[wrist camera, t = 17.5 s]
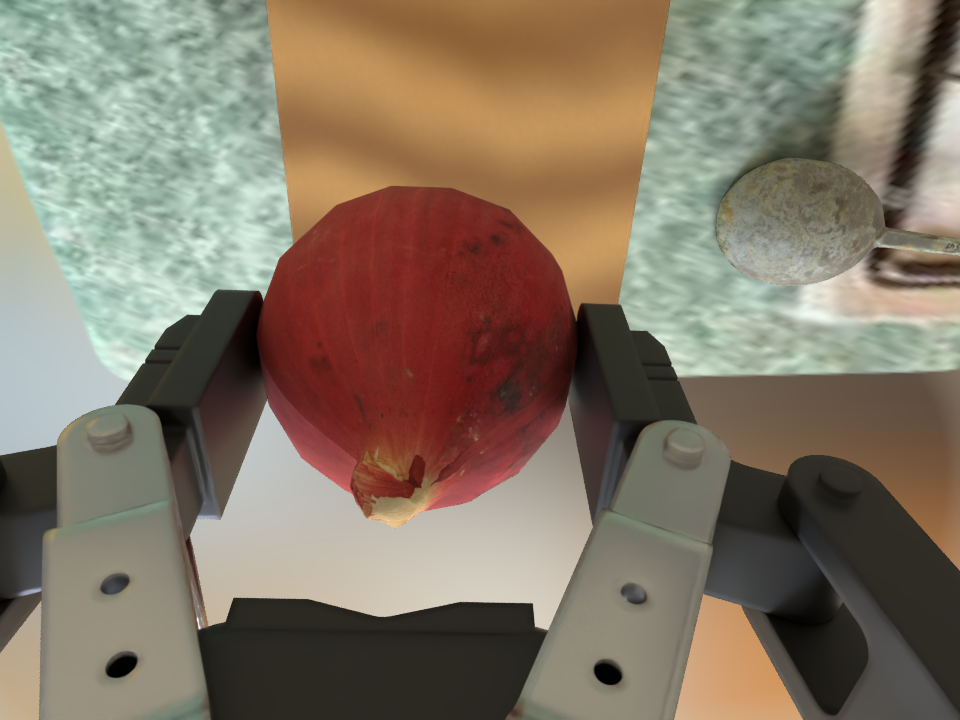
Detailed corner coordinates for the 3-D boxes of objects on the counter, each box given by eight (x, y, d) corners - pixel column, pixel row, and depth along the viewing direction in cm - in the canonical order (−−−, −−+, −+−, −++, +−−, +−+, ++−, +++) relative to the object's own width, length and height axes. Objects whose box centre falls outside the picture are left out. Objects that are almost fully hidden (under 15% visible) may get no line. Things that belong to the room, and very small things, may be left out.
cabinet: (313, -98, 29) (255, -91, 21) (623, -83, 29) (682, -71, 21) (338, 237, 37) (302, 335, 29) (580, 245, 37) (611, 344, 29)
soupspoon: (738, 135, 35) (695, 254, 39) (758, 160, 32) (709, 285, 36) (1156, 203, 36) (1074, 311, 40) (1209, 233, 33) (1115, 346, 37)
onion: (513, 93, 14) (552, 273, 8) (582, 323, 18) (651, 593, 11) (257, 182, 15) (97, 410, 9) (364, 386, 18) (306, 668, 12)
